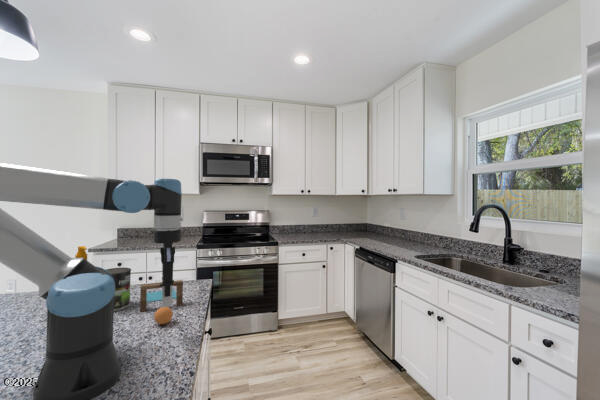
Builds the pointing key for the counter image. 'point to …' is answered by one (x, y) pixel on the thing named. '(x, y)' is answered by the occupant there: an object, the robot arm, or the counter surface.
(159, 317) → the ball
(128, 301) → the coffee can
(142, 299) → the bridge
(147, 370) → the counter surface
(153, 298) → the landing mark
